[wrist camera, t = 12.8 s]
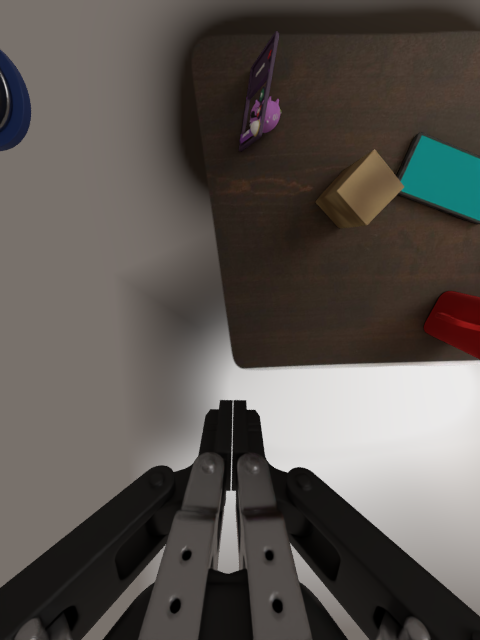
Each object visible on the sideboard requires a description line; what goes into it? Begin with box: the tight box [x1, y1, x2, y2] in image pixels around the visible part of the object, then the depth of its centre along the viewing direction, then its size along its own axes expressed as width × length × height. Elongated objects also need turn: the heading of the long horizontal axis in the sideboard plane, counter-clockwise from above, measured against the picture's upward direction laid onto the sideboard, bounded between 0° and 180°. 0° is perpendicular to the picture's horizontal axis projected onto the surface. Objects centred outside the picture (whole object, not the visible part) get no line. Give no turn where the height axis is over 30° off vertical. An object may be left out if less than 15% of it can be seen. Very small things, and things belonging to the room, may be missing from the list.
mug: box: [424, 291, 480, 359], centre depth 35 cm, size 12×8×11 cm
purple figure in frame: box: [239, 31, 281, 152], centre depth 29 cm, size 7×5×9 cm
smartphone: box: [396, 132, 480, 224], centre depth 34 cm, size 7×1×15 cm
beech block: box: [315, 149, 404, 229], centre depth 31 cm, size 6×6×8 cm
